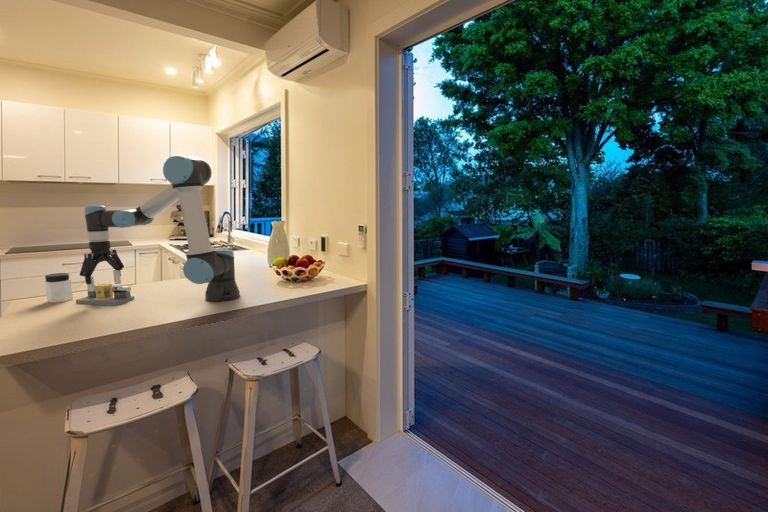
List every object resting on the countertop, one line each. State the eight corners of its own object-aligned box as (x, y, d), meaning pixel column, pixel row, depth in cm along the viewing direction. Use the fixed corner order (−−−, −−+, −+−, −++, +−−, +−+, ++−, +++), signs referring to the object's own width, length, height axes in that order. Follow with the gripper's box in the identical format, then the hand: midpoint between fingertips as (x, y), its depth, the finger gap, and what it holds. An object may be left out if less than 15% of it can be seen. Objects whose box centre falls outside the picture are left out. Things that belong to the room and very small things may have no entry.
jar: (45, 304, 164) (42, 277, 162) (49, 299, 171) (45, 274, 169) (71, 301, 169) (68, 275, 167) (74, 297, 176) (71, 272, 174)
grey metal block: (132, 296, 172) (131, 284, 171) (128, 298, 169) (126, 286, 168) (117, 296, 172) (116, 284, 171) (112, 298, 168) (111, 286, 167)
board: (134, 299, 173) (133, 295, 173) (116, 305, 163) (115, 301, 163) (96, 297, 176) (96, 293, 176) (76, 303, 166) (75, 299, 166)
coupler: (113, 296, 171) (112, 283, 170) (104, 299, 167) (103, 286, 166) (104, 296, 172) (103, 283, 171) (95, 298, 167) (94, 285, 166)
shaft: (87, 296, 172) (85, 284, 171) (95, 294, 175) (94, 282, 174) (95, 297, 169) (94, 285, 168) (104, 296, 173) (103, 284, 172)
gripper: (115, 237, 178) (120, 281, 181) (64, 244, 154) (71, 294, 157) (129, 237, 177) (134, 281, 180) (80, 244, 152) (87, 294, 156)
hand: (105, 287), depth 169 cm, fingers open, 13 cm apart
